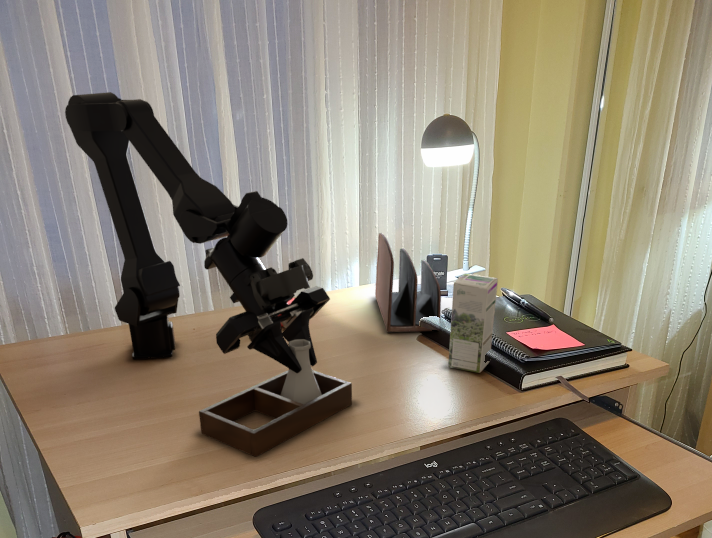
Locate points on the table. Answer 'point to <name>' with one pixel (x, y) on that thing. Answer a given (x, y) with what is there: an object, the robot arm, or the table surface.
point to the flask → (301, 375)
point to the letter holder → (405, 291)
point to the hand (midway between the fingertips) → (307, 368)
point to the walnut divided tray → (272, 413)
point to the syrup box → (472, 321)
